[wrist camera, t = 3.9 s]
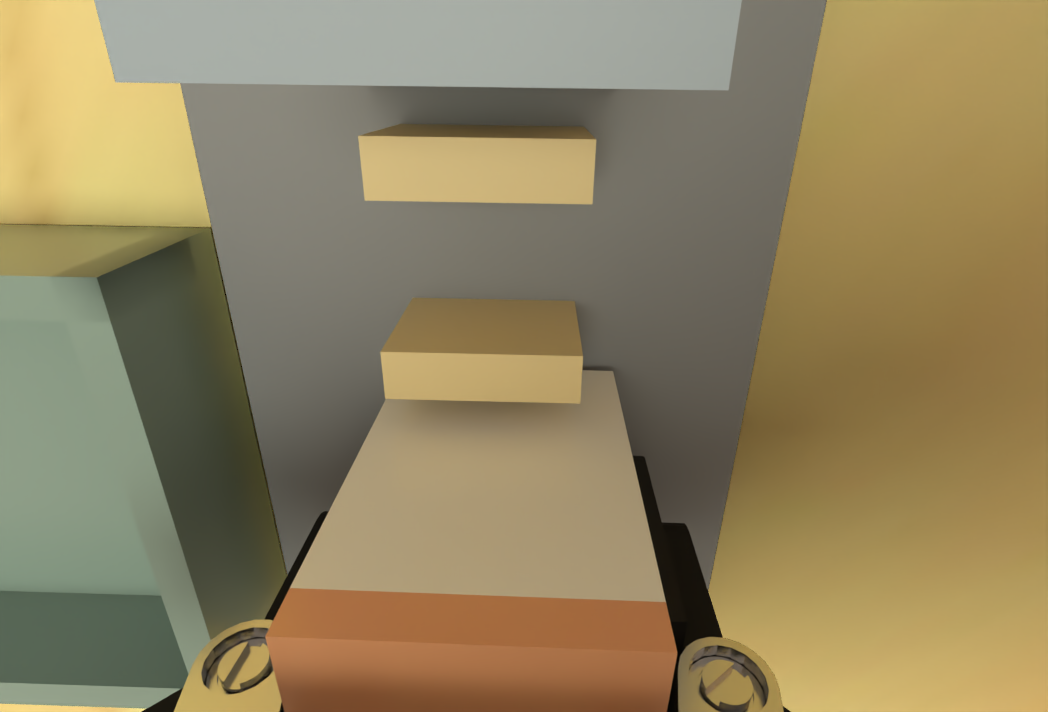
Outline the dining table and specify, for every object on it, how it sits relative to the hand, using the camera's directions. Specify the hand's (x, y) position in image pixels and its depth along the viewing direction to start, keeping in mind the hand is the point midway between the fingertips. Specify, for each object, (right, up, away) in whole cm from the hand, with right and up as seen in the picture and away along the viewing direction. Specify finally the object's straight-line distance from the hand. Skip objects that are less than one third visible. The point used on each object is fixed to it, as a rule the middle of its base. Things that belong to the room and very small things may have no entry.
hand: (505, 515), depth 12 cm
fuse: (0, 0, +1) cm, 1 cm away
